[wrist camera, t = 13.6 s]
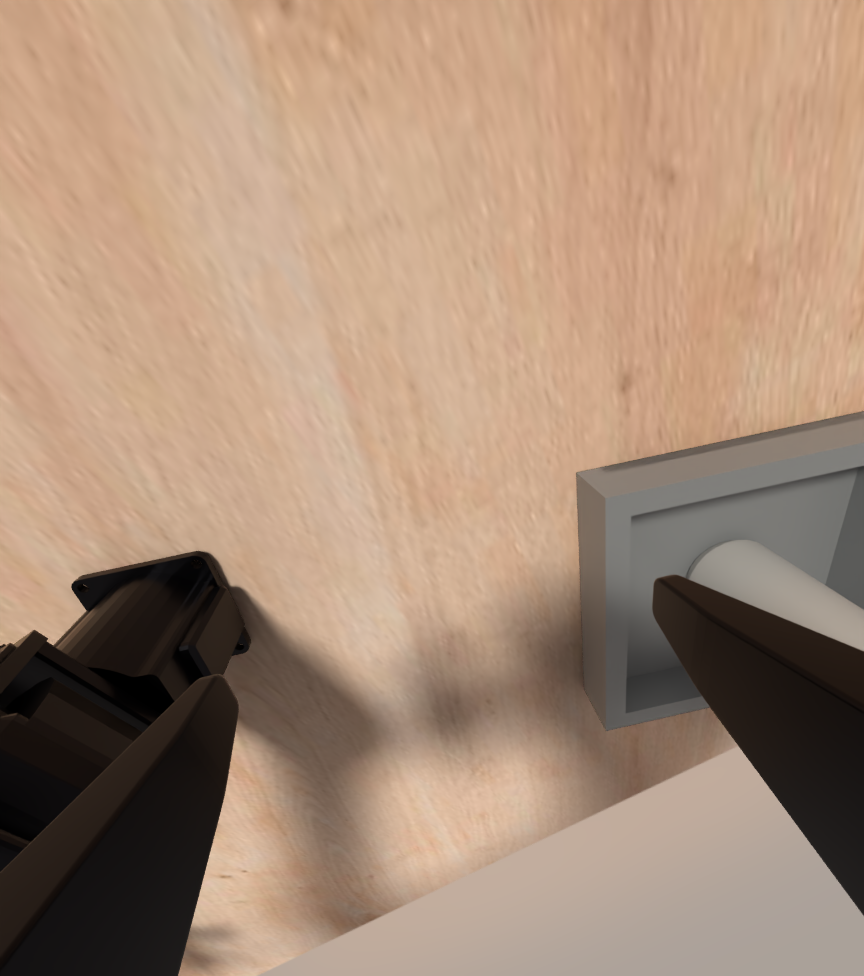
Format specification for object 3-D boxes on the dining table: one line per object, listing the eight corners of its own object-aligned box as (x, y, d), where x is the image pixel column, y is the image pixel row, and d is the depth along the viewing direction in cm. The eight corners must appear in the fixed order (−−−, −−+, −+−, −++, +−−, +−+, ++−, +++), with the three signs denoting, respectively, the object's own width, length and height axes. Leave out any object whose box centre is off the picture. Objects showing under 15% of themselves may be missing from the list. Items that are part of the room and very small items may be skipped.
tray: (583, 688, 27) (605, 731, 25) (576, 472, 21) (605, 498, 18) (812, 637, 28) (858, 673, 25) (878, 408, 21) (951, 423, 18)
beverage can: (776, 562, 24) (1112, 784, 13) (708, 616, 25) (962, 861, 14) (733, 518, 22) (1078, 729, 11) (663, 578, 23) (911, 821, 12)
